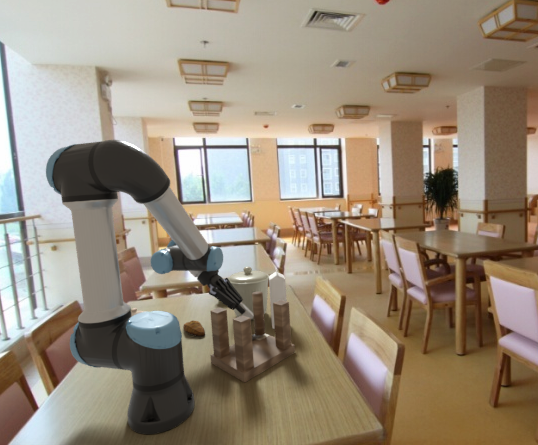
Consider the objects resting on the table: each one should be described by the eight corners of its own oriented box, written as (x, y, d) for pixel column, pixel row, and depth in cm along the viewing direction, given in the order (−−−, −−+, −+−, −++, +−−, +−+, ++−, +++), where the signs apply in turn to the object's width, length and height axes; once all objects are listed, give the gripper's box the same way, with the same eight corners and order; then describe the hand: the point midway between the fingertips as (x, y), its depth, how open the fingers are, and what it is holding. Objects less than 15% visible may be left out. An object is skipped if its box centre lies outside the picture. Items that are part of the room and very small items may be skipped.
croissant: (177, 331, 123) (175, 319, 123) (192, 325, 128) (191, 313, 127) (195, 341, 113) (194, 327, 113) (211, 334, 118) (210, 321, 118)
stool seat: (244, 382, 86) (240, 323, 84) (211, 362, 97) (206, 310, 96) (295, 352, 100) (292, 301, 99) (260, 338, 112) (257, 293, 110)
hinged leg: (242, 346, 100) (239, 301, 99) (235, 342, 103) (232, 299, 102) (267, 334, 108) (264, 292, 107) (260, 331, 110) (257, 290, 109)
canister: (221, 316, 135) (217, 268, 133) (253, 304, 147) (250, 260, 145) (247, 327, 122) (243, 274, 120) (280, 314, 134) (277, 265, 132)
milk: (286, 321, 125) (283, 267, 124) (288, 327, 119) (285, 270, 118) (271, 322, 125) (268, 268, 123) (272, 329, 119) (269, 271, 117)
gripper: (205, 273, 119) (250, 317, 116) (188, 283, 107) (238, 333, 104) (217, 259, 117) (263, 304, 114) (201, 268, 105) (253, 319, 102)
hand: (251, 318), depth 109 cm, fingers closed
